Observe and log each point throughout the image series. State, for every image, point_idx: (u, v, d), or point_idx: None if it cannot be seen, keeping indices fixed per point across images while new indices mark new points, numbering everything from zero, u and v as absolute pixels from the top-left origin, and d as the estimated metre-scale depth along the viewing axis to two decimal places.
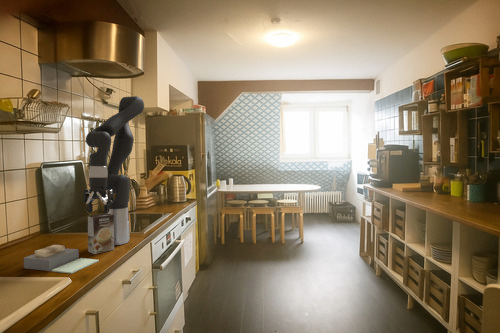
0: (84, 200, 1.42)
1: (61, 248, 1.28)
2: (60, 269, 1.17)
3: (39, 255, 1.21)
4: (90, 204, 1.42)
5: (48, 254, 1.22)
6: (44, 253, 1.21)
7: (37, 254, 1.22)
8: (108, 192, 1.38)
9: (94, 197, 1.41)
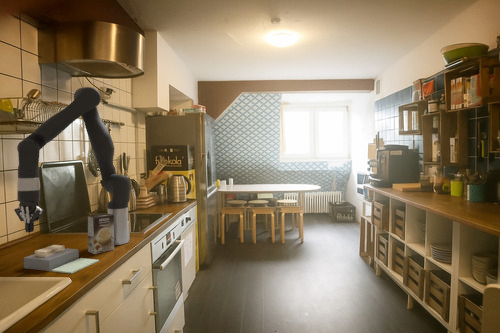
0: (21, 218, 1.27)
1: (61, 248, 1.28)
2: (60, 269, 1.17)
3: (39, 255, 1.21)
4: None
5: (48, 254, 1.22)
6: (44, 253, 1.21)
7: (37, 254, 1.22)
8: (36, 212, 1.25)
9: None
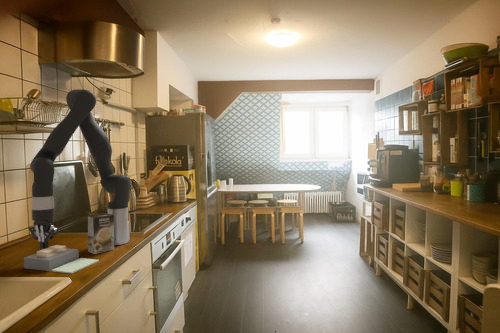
0: (35, 237, 1.26)
1: (63, 248, 1.27)
2: (60, 269, 1.17)
3: (41, 255, 1.21)
4: None
5: (50, 254, 1.22)
6: (46, 253, 1.20)
7: (39, 254, 1.21)
8: (51, 231, 1.24)
9: None
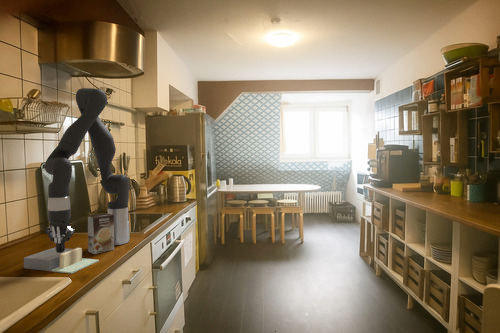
0: (52, 238, 1.24)
1: None
2: (60, 269, 1.17)
3: (60, 260, 1.19)
4: None
5: None
6: (62, 266, 1.19)
7: (61, 258, 1.19)
8: (68, 232, 1.21)
9: None
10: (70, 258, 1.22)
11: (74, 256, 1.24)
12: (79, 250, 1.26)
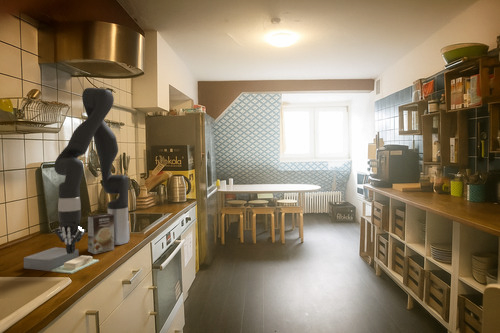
0: (62, 239, 1.22)
1: None
2: (60, 269, 1.17)
3: (70, 264, 1.18)
4: None
5: None
6: (64, 266, 1.19)
7: (72, 265, 1.18)
8: (79, 233, 1.20)
9: None
10: None
11: None
12: None
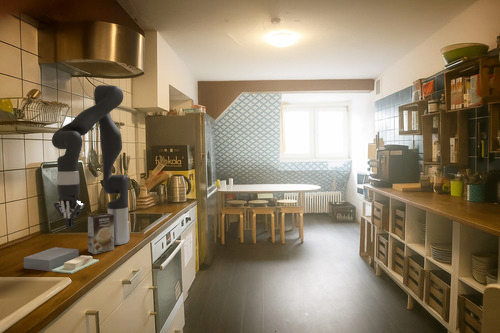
0: (61, 213, 1.22)
1: None
2: (60, 269, 1.17)
3: (70, 264, 1.18)
4: None
5: None
6: (64, 266, 1.19)
7: (72, 265, 1.18)
8: (77, 207, 1.20)
9: None
10: None
11: None
12: None
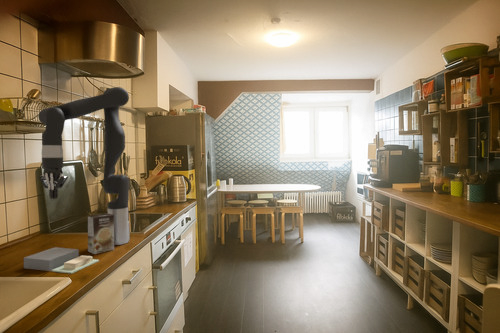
0: (45, 185, 1.30)
1: None
2: (60, 269, 1.17)
3: (70, 264, 1.18)
4: None
5: None
6: (64, 266, 1.19)
7: (72, 265, 1.18)
8: (61, 178, 1.28)
9: None
10: None
11: None
12: None
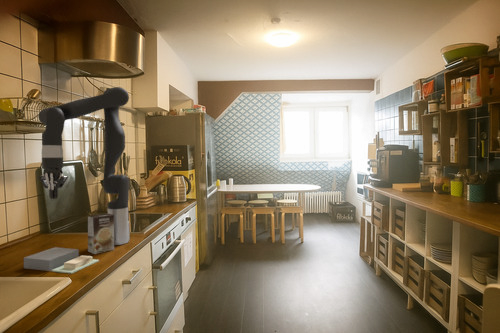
0: (45, 185, 1.30)
1: None
2: (60, 269, 1.17)
3: (70, 264, 1.18)
4: None
5: None
6: (64, 266, 1.19)
7: (72, 265, 1.18)
8: (61, 178, 1.28)
9: None
10: None
11: None
12: None
